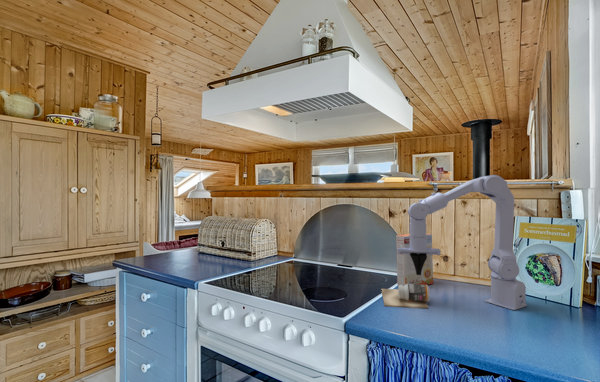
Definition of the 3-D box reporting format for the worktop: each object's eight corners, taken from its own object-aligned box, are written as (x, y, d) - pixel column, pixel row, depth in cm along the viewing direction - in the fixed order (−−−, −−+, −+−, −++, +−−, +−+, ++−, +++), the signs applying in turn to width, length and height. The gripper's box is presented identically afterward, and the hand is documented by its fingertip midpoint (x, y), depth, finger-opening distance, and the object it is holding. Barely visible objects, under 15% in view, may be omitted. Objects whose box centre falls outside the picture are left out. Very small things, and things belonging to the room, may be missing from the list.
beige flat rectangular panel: (418, 291, 122) (418, 290, 122) (428, 308, 104) (428, 307, 104) (381, 289, 125) (381, 288, 125) (384, 306, 107) (384, 304, 107)
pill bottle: (429, 305, 109) (399, 303, 111) (426, 290, 114) (397, 289, 116) (430, 295, 106) (399, 294, 108) (427, 281, 110) (398, 280, 112)
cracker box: (423, 280, 137) (423, 232, 137) (433, 284, 131) (433, 234, 131) (396, 284, 132) (395, 234, 132) (405, 288, 127) (404, 235, 127)
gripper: (436, 235, 116) (437, 272, 116) (395, 234, 119) (396, 270, 119) (441, 238, 109) (442, 277, 109) (397, 237, 112) (398, 275, 112)
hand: (418, 274), depth 114 cm, fingers closed
